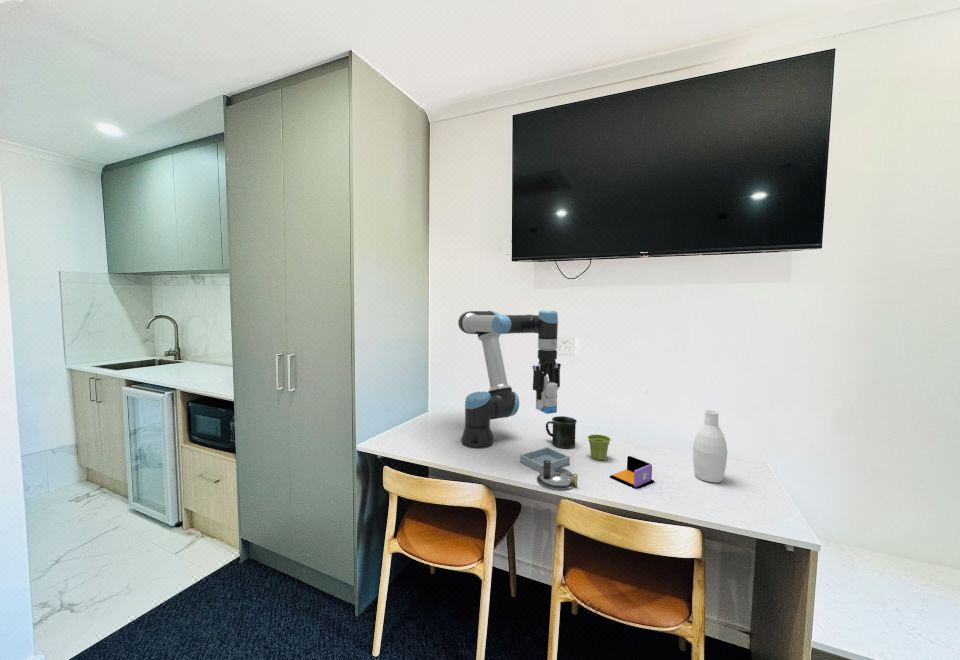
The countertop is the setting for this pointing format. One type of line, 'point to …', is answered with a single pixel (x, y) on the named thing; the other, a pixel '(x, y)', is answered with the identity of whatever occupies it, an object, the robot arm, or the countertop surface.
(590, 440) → the plant pot
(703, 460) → the bottle
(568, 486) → the crank base
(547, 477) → the crank
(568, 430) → the mug
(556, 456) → the tray
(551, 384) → the ink box
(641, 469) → the miniature room corner
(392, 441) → the countertop surface
